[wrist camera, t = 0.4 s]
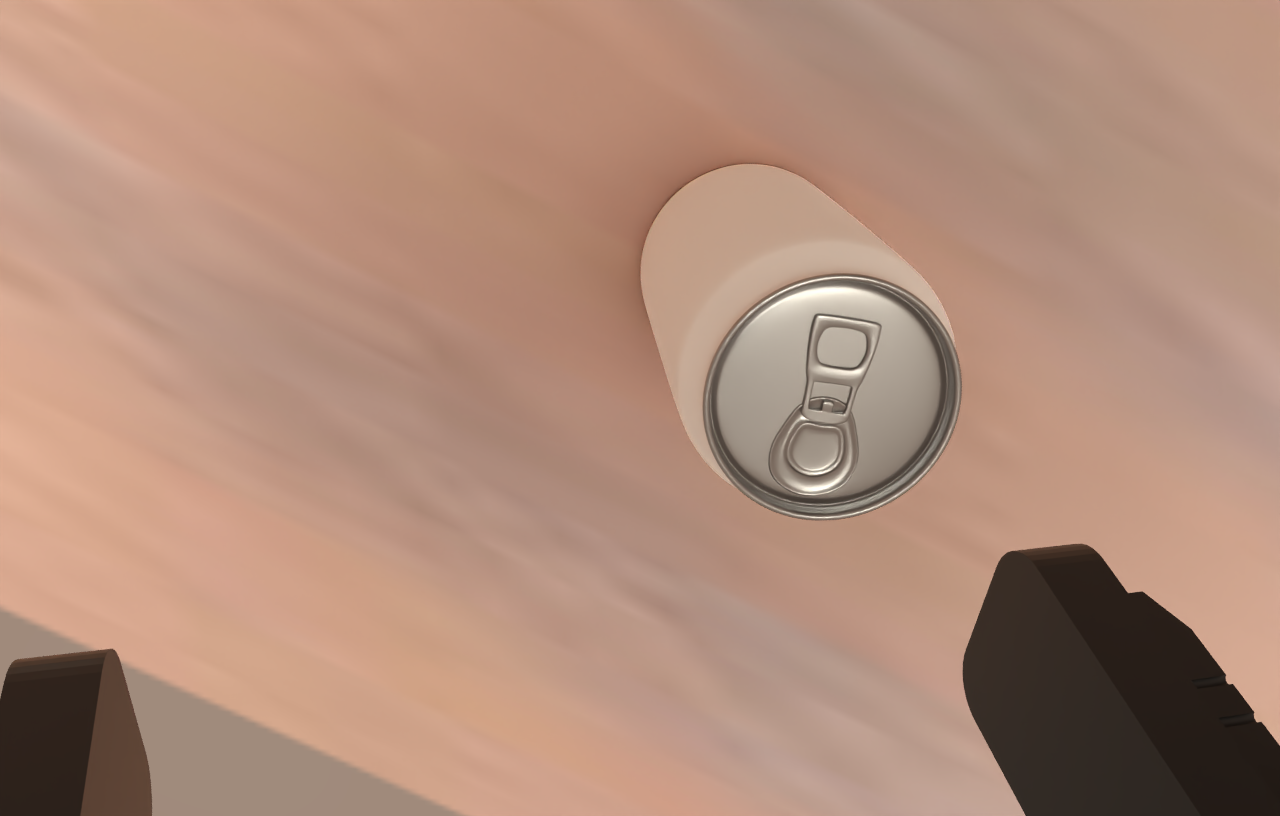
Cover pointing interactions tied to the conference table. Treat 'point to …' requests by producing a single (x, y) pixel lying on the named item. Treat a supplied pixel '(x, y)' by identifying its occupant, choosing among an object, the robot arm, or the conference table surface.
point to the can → (797, 344)
